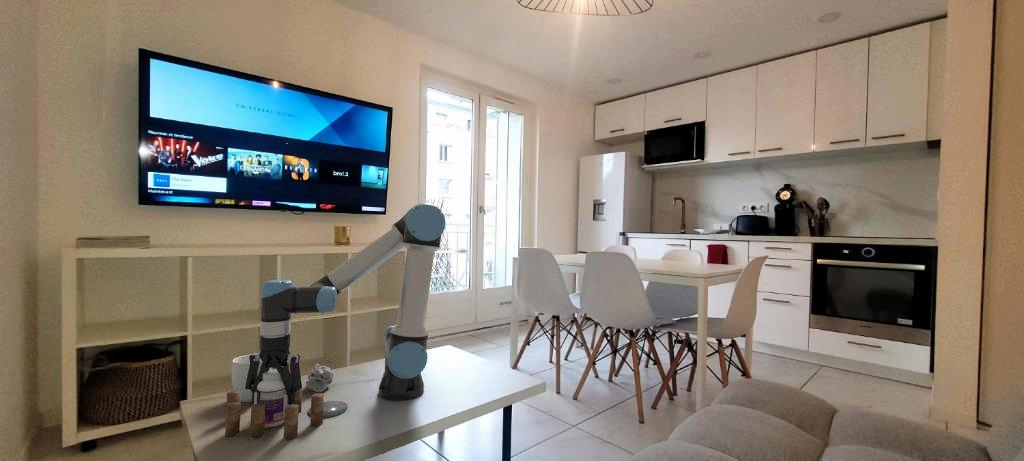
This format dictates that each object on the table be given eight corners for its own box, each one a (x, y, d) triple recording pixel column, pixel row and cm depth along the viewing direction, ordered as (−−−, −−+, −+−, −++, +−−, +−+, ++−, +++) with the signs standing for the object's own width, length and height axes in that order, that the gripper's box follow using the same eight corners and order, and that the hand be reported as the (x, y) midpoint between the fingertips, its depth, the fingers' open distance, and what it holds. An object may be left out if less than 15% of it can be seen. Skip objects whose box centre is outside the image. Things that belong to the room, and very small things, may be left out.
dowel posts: (336, 411, 123) (337, 385, 124) (300, 442, 105) (301, 411, 105) (250, 406, 126) (251, 380, 126) (200, 435, 107) (201, 404, 108)
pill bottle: (265, 416, 119) (266, 367, 119) (293, 416, 120) (295, 367, 120) (249, 429, 111) (251, 376, 111) (280, 429, 112) (282, 376, 112)
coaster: (353, 403, 130) (353, 401, 130) (336, 419, 119) (336, 417, 119) (320, 401, 130) (320, 399, 130) (300, 416, 119) (300, 414, 119)
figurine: (316, 366, 136) (325, 349, 148) (296, 387, 136) (307, 369, 148) (337, 380, 138) (344, 362, 150) (317, 401, 138) (326, 382, 150)
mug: (272, 405, 127) (274, 363, 127) (229, 413, 121) (231, 369, 121) (269, 389, 139) (271, 351, 139) (231, 396, 133) (232, 356, 133)
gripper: (317, 333, 119) (315, 411, 118) (250, 330, 120) (247, 407, 120) (302, 339, 111) (299, 423, 111) (231, 336, 113) (228, 418, 113)
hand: (272, 414), depth 115 cm, fingers closed on pill bottle, 8 cm apart
